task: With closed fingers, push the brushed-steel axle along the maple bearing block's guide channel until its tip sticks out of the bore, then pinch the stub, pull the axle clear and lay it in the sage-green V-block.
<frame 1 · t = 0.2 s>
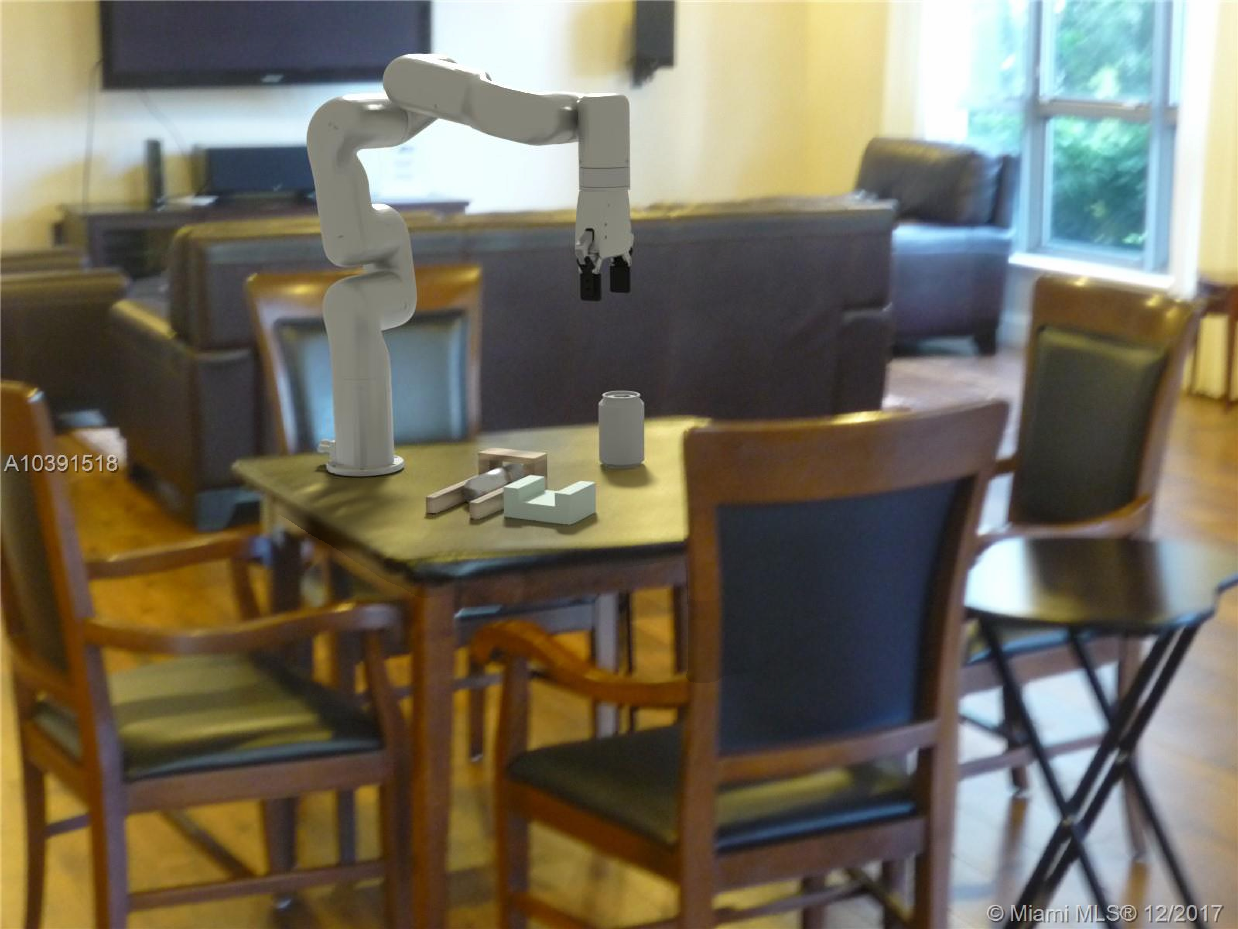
hand: (605, 296, 254), 31 cm above the table, tool pointing down, fingers open, 9 cm apart
can: (621, 465, 282), on the table
axle: (497, 497, 262), on the table
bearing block: (487, 500, 259), on the table
v block: (550, 514, 251), on the table
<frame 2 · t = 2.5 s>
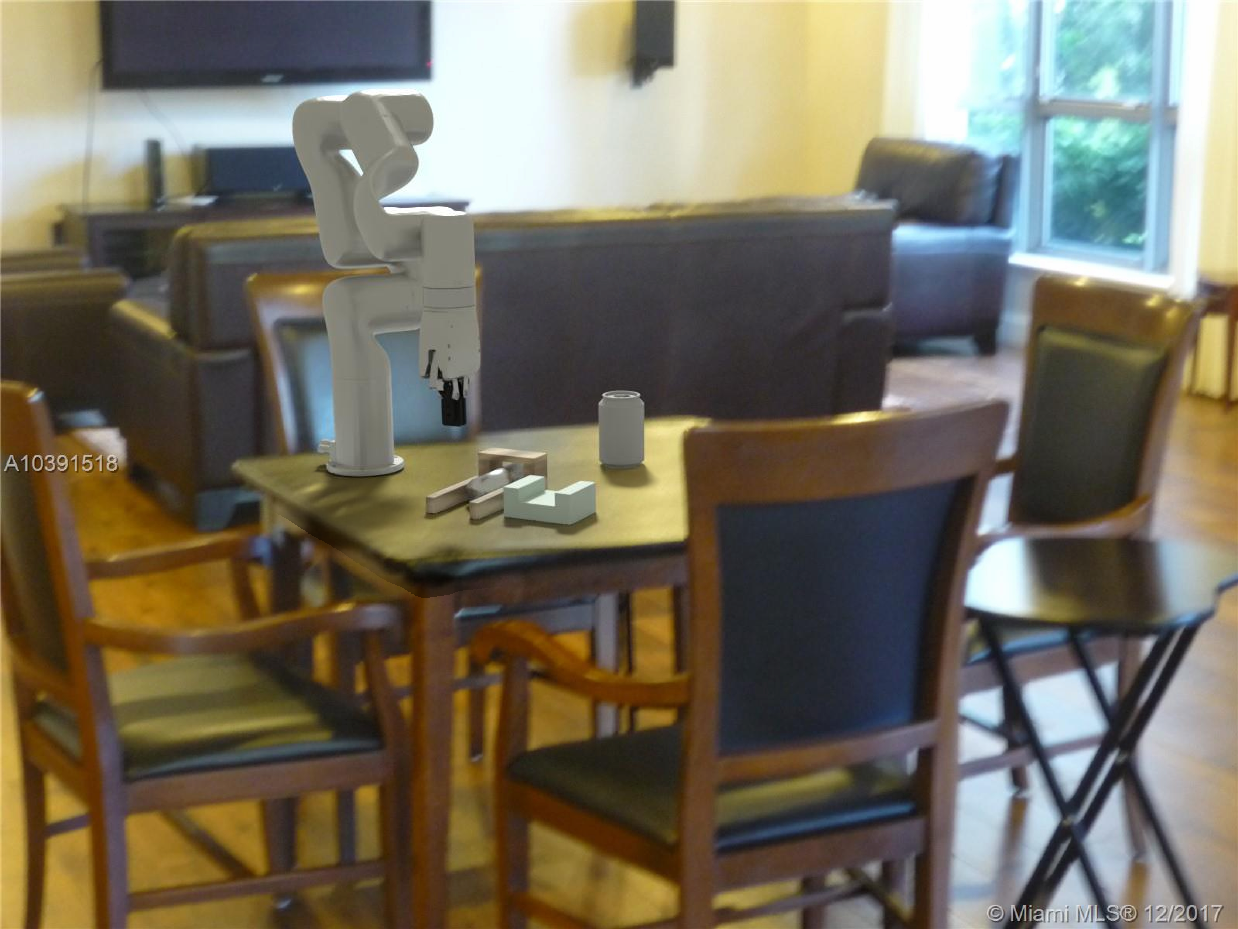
hand: (454, 424, 248), 14 cm above the table, tool pointing down, fingers closed
axle: (497, 497, 262), on the table, tilted 8°
everything else where it was.
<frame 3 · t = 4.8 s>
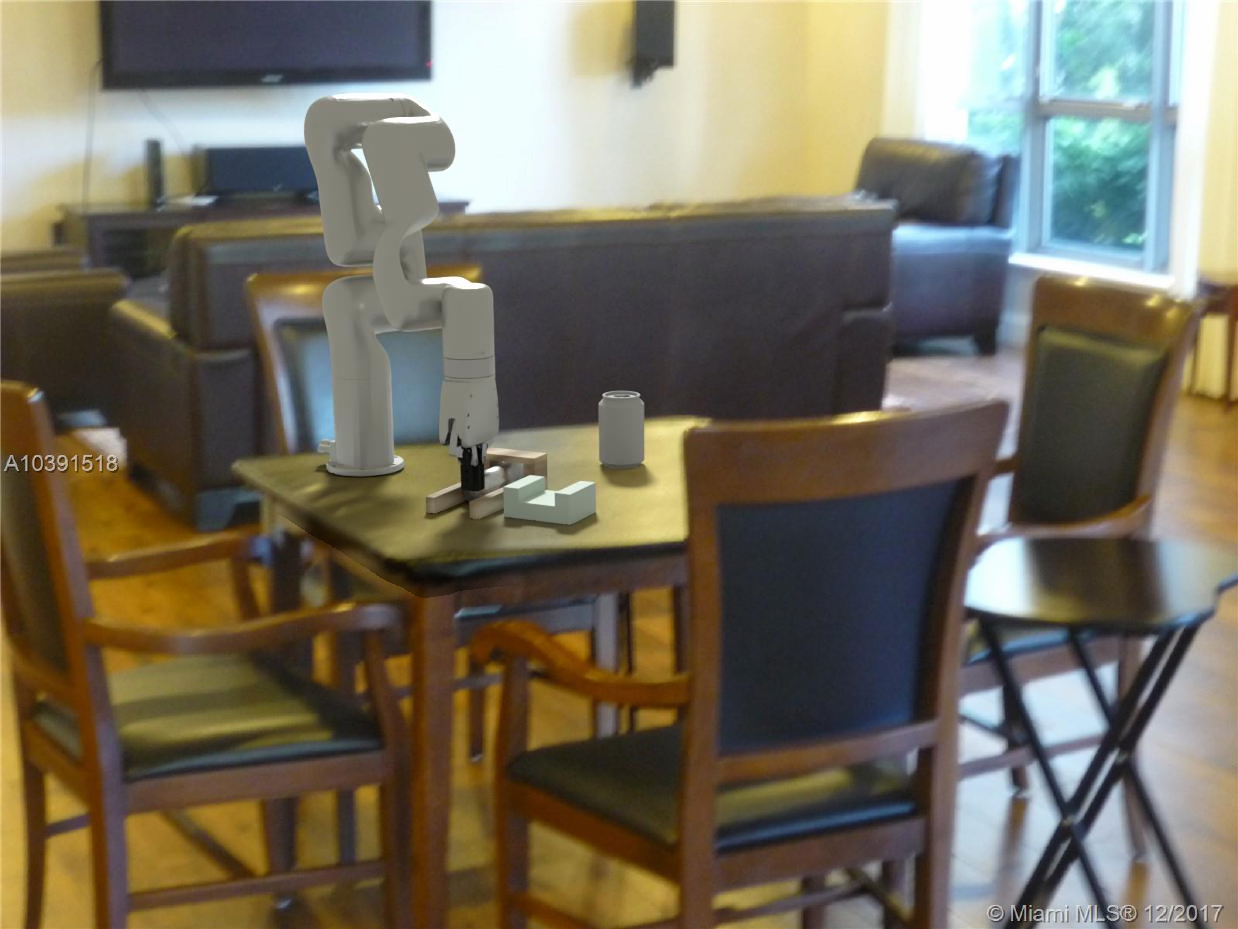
hand: (473, 489, 255), 3 cm above the table, tool pointing down, fingers closed
axle: (499, 495, 262), on the table, tilted 19°, touching gripper
everything else where it was.
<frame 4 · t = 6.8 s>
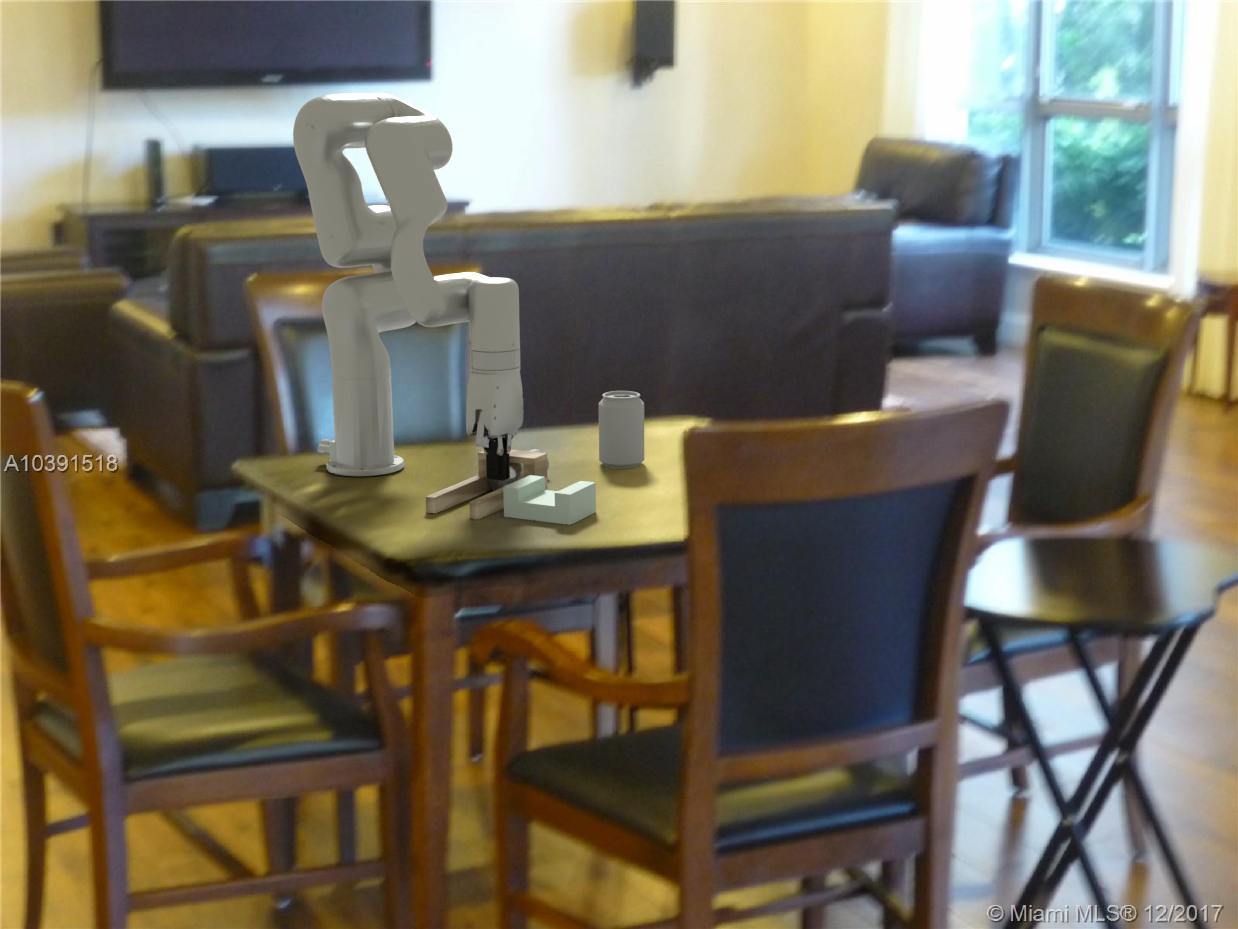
hand: (498, 478, 262), 3 cm above the table, tool pointing down, fingers closed
axle: (522, 483, 269), on the table, tilted 18°, touching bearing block, gripper
everything else where it was.
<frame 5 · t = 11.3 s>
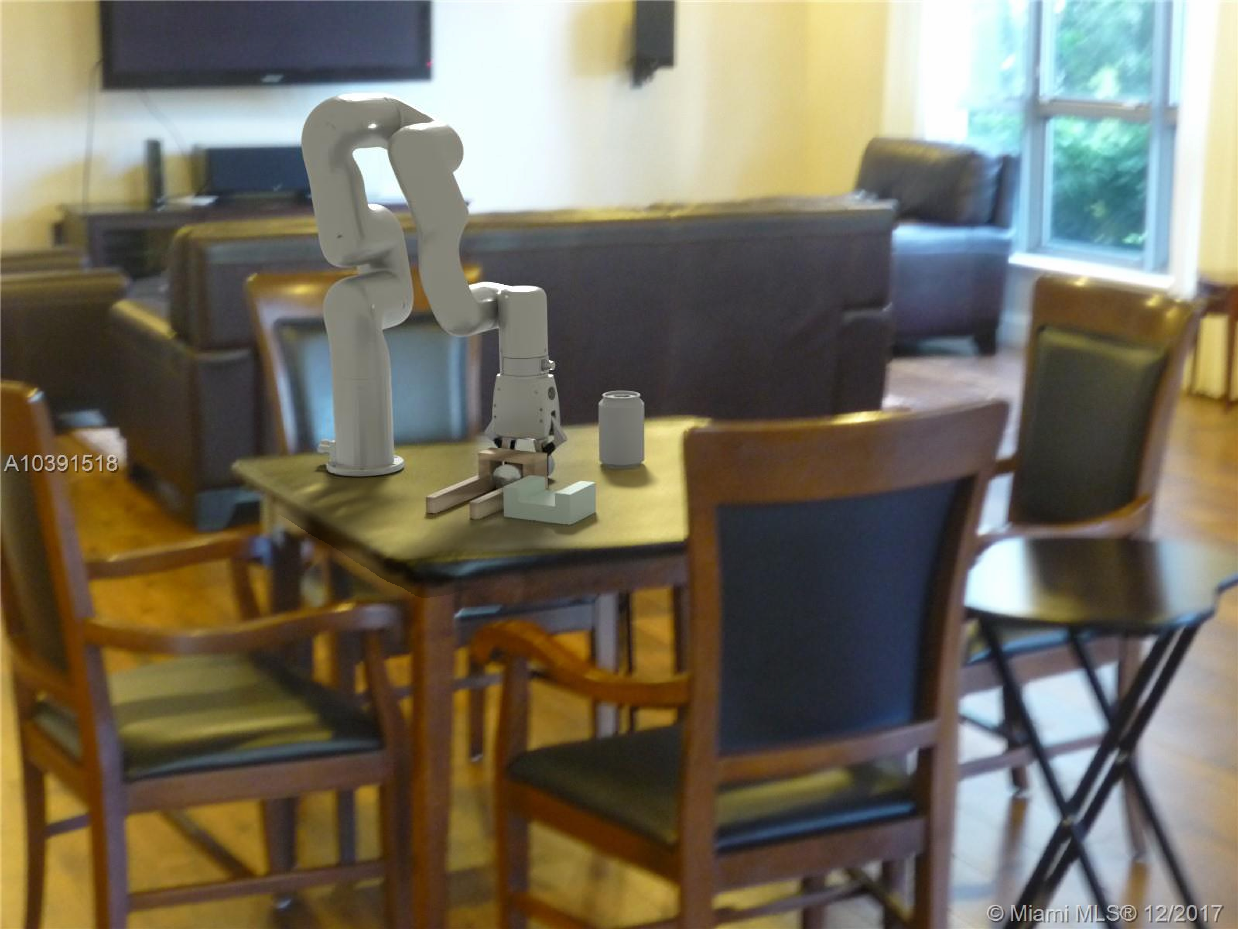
hand: (526, 479, 269), 1 cm above the table, tool pointing down, fingers closed on axle, 4 cm apart
axle: (523, 484, 269), on the table, tilted 6°, touching gripper
everything else where it was.
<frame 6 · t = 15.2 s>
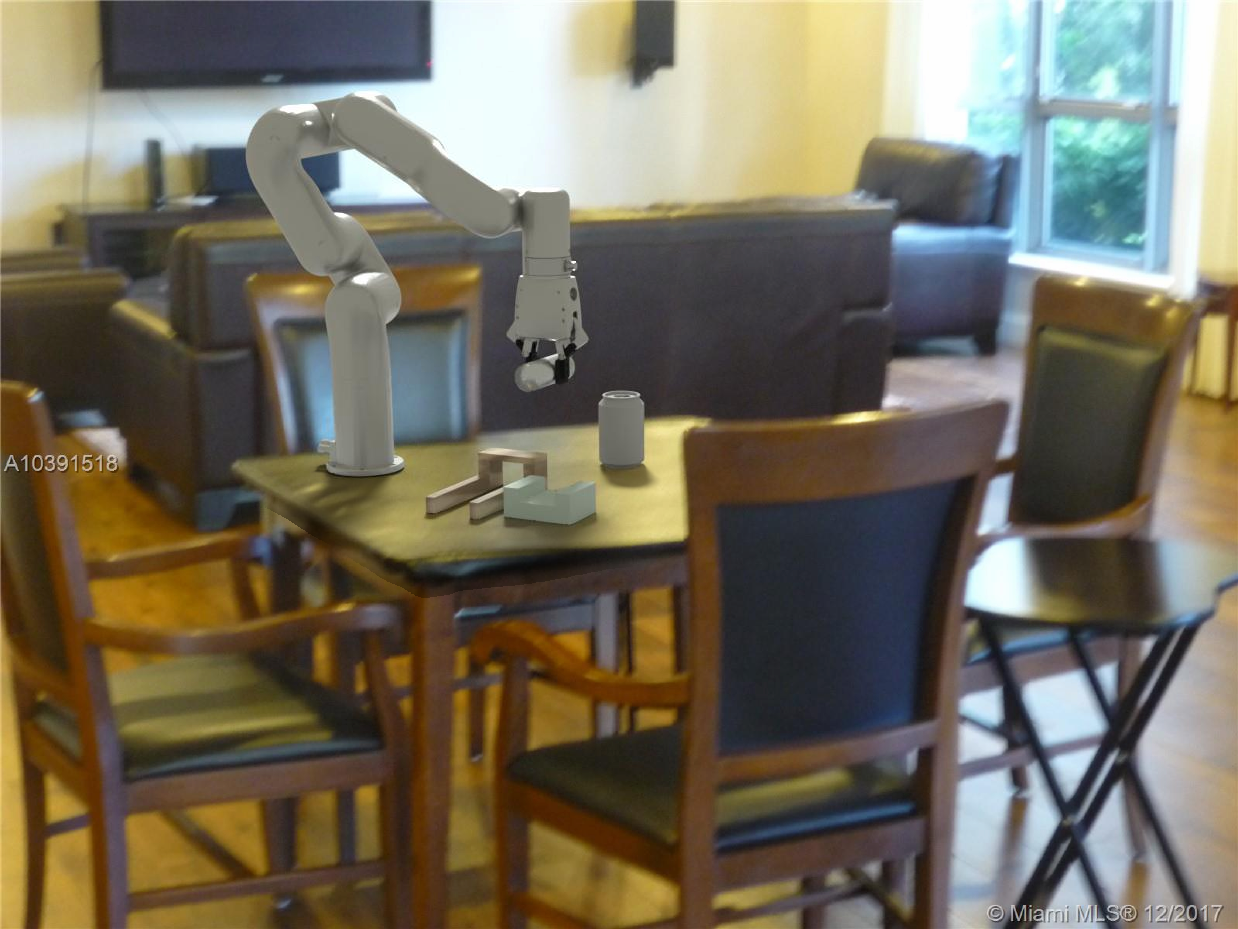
hand: (547, 380, 273), 15 cm above the table, tool pointing down, fingers closed on axle, 4 cm apart
axle: (543, 385, 273), point 15 cm above the table, tilted 8°, touching gripper
everything else where it was.
when the fingers open (5 cm above the table, at t = 18.9 s): axle drops 2 cm, resting on v block.
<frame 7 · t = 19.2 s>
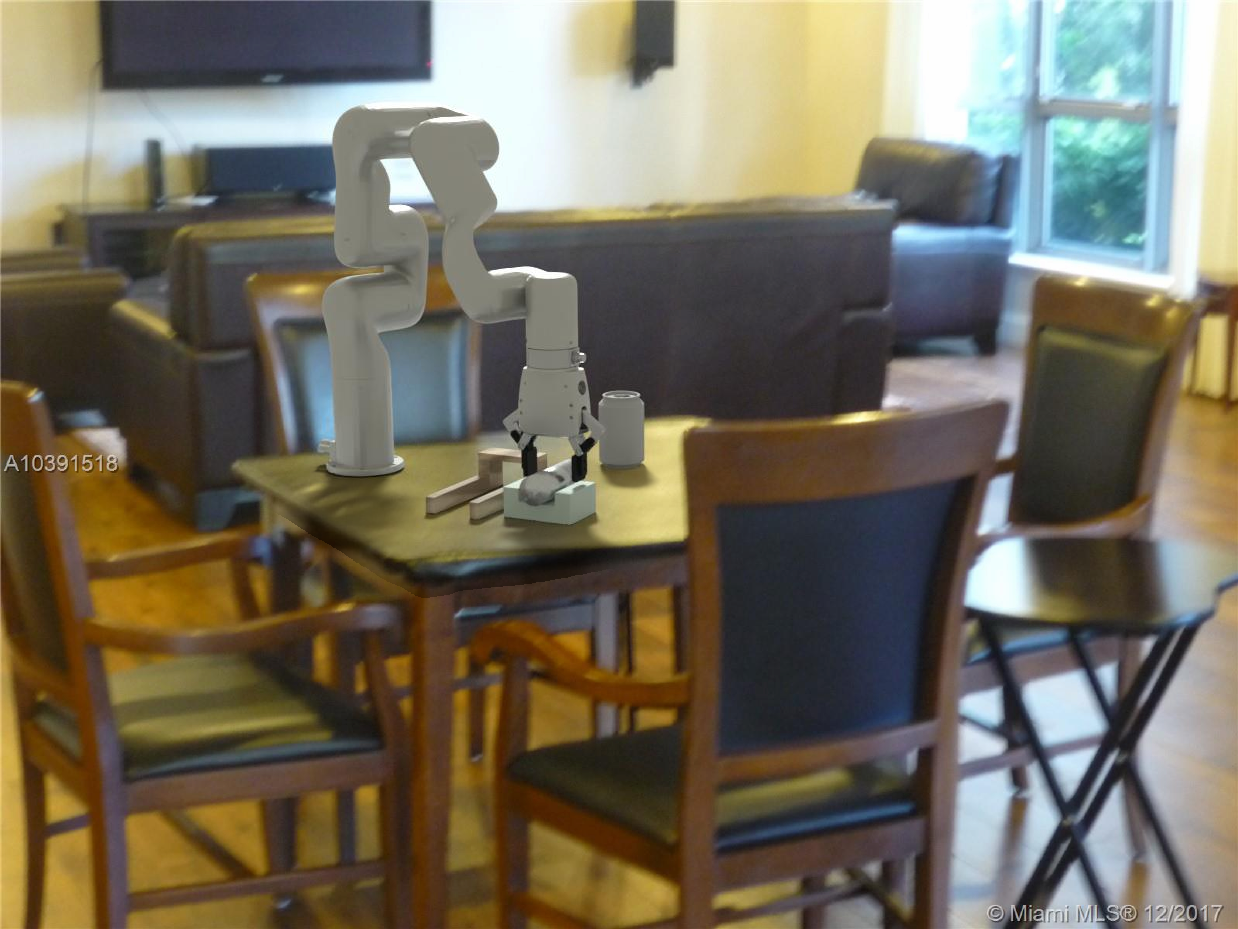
hand: (554, 476, 251), 5 cm above the table, tool pointing down, fingers open, 7 cm apart
axle: (549, 496, 251), point 3 cm above the table, tilted 12°, touching v block
everything else where it was.
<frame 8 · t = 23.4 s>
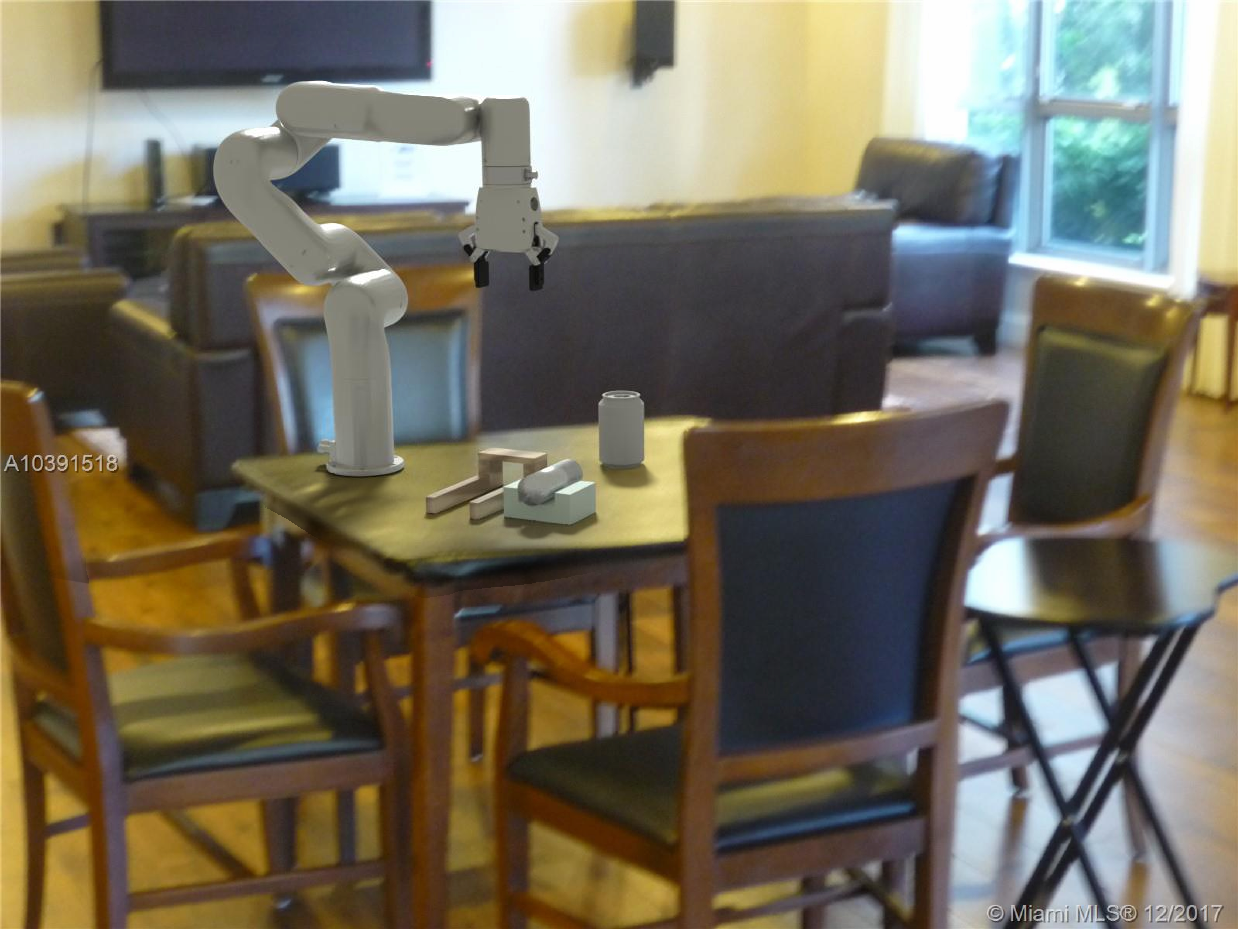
hand: (509, 288, 267), 30 cm above the table, tool pointing down, fingers open, 9 cm apart
axle: (549, 496, 251), point 2 cm above the table, touching v block
everything else where it was.
at the end: axle inside the target area on the v block (0.9 cm from its centre), point 2.5 cm above the v block's base; axle touching v block; the gripper is holding nothing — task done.
